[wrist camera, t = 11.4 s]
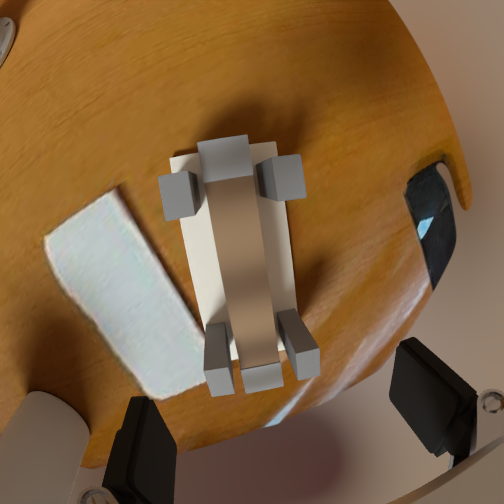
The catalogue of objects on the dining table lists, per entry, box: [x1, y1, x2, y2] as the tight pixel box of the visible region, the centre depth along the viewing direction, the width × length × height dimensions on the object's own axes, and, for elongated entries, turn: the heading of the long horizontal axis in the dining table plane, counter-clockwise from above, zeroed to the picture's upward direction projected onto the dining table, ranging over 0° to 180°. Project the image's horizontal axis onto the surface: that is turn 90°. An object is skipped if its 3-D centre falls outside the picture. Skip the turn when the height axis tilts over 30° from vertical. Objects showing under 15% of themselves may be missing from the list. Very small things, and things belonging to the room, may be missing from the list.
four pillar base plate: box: [158, 141, 320, 397], centre depth 24 cm, size 22×10×9 cm, turn 9°
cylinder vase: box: [0, 391, 90, 504], centre depth 19 cm, size 12×12×25 cm
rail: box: [197, 135, 283, 394], centre depth 25 cm, size 22×4×6 cm, turn 9°
